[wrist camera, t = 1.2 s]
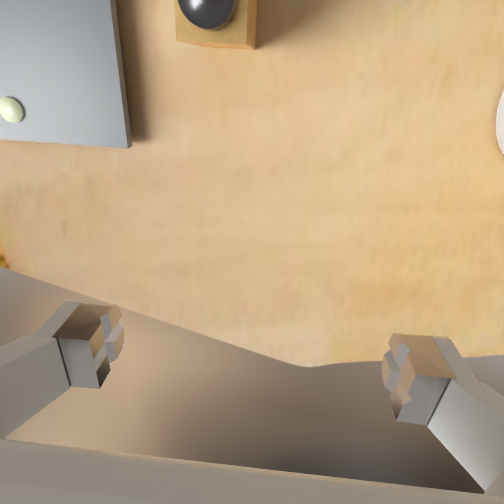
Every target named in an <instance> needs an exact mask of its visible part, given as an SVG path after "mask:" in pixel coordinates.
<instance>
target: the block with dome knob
mask: <svg viewBox="0 0 504 504" xmlns="http://www.w3.org/2000/svg"><path fill="white" fill-rule="evenodd" d="M257 1H258V0H175V18H176V40H177V41H180V42H185V43H189V44H193V45H198V46H202V47H218V48H234V49H251V50H255V41H256V21H257Z"/></svg>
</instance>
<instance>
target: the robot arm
mask: <svg viewBox="0 0 504 504" xmlns="http://www.w3.org/2000/svg"><path fill="white" fill-rule="evenodd" d="M496 136H497V141H498V144H499V147H500V149H501V151H502V153H503V154H504V90H503V93H502V95H501V98H500V101H499V105H498V109H497V114H496ZM120 317H121V311H120V307H119V306H117V305H112V304H104V303H96V302H87V301H85V302H84V301H77V300H67V301H64V302H63V303H62V304H61V305H60V306H59V307H58V308H57V309H56V311H55V312H54V313H53V314H52V315H51V316H50V317H49V318H48V319H47V320H46V321H45V322H44V323H43V325H42V326H41V327H40V328H39V329H38V330H37V331H36V332H35V333H34V334H33V335H32V336H30V335H26V336H24V337H22V338H19V339H17V340H15V341H13V342H11V343H9V344H6V345H4V346H2V347H0V504H504V397H503V396H501V395H500V394H499V393H497V392H496V391H494V390H493V389H491V388H490V387H489V386H487V385H486V384H485V383H482V382H477V380H476V379H475V377H474V376H473V374H472V372H471V371H470V369H469V368H468V366H467V364H466V363H465V361H464V360H463V358H462V357H461V355H460V353H459V352H458V350H457V349H456V347H455V345H454V344H453V342H452V341H451V340H450V339H449V338H448V337H440V336H423V335H412V334H402V333H393V334H392V336H391V337H390V340H389V346H390V348H391V350H390V351H388V352H387V353H386V354H384V358H383V361H382V378H383V382H384V385H385V387H386V388H387V389H388V390H389V391H390V392H391V393H392V394H391V397H390V399H389V401H390V404H391V407H392V410H393V413H394V416H395V419H396V421H400V422H407V423H414V424H421V425H428V428H429V429H430V430H431V431H432V433H433V434H434V435H435V436H436V437H437V438H438V439H439V440H440V441H441V443H442V444H443V445H444V446H445V447H446V448H447V449H448V450H449V451H450V453H451V454H452V455H453V456H454V457H455V458H456V459H457V460H458V462H460V464H461V465H462V466H463V467H464V468H465V469H466V470H467V472H468V473H469V474H470V475H471V476H472V477H473V478H474V479H475V480H476V482H477V483H478V484H479V485H480V486H481V487H482V488H483V489H484V491H485V493H484V494H475V493H466V492H458V491H449V490H441V489H432V488H423V487H414V486H406V485H398V484H389V483H380V482H371V481H361V480H354V479H345V478H336V477H327V476H318V475H309V474H301V473H291V472H283V471H275V470H266V469H257V468H249V467H240V466H232V465H223V464H214V463H206V462H197V461H189V460H180V459H170V458H163V457H154V456H146V455H137V454H128V453H119V452H111V451H102V450H93V449H84V448H77V447H68V446H59V445H51V444H42V443H33V442H24V441H16V440H7V439H6V436H7V435H8V434H10V433H11V432H12V431H14V430H15V429H16V428H18V427H19V426H20V425H22V424H23V423H24V422H26V421H27V420H28V419H30V418H31V417H32V416H34V415H35V414H36V413H38V412H39V411H40V410H41V409H43V408H44V407H46V406H47V405H48V404H50V403H51V402H52V401H54V400H55V399H56V398H58V397H59V396H60V395H62V394H63V393H64V392H66V391H67V390H68V389H70V386H71V387H83V388H84V387H85V388H96V389H100V388H101V386H102V384H103V382H104V381H105V379H106V377H107V375H108V374H109V372H110V365H109V363H111V362H112V361H114V360H115V359H117V357H118V356H119V354H120V352H121V349H122V346H123V342H124V329H123V327H122V326H121V325H120V324H119V323H118V321H119V319H120Z"/></svg>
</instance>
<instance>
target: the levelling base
mask: <svg viewBox="0 0 504 504" xmlns="http://www.w3.org/2000/svg"><path fill="white" fill-rule="evenodd" d="M0 139H6V140H19V141H33V142H47V143H60V144H74V145H87V146H101V147H115V148H130V147H131V146H132V140H131V131H130V122H129V113H128V105H127V96H126V87H125V78H124V70H123V61H122V52H121V43H120V35H119V26H118V17H117V8H116V0H0Z"/></svg>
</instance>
